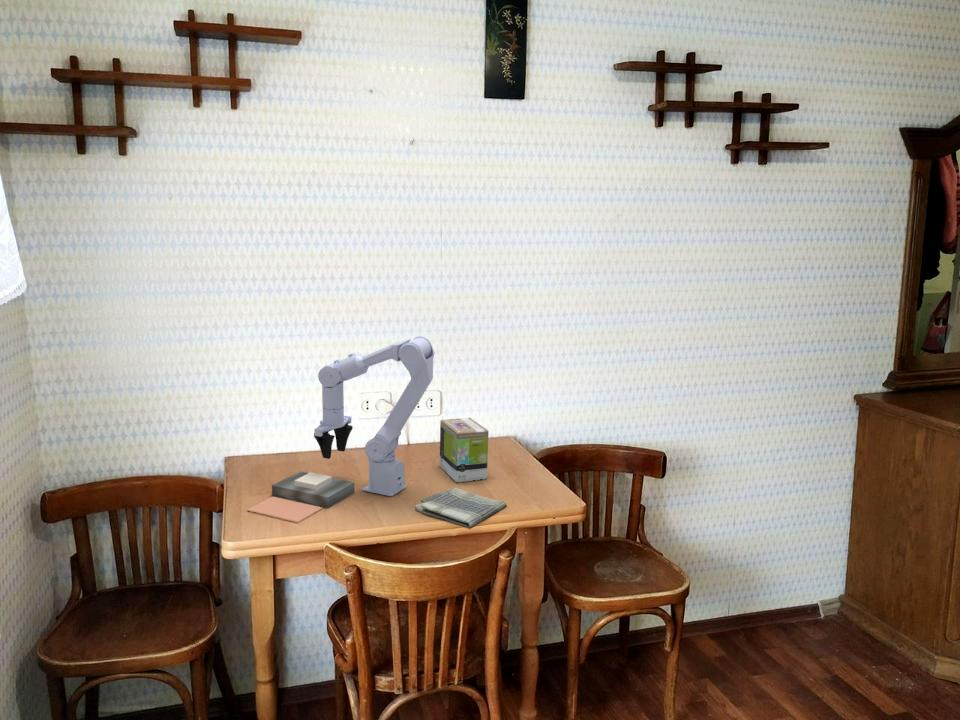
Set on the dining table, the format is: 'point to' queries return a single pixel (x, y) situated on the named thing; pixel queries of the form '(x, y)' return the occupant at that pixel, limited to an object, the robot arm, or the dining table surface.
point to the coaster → (313, 481)
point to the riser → (313, 491)
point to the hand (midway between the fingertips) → (333, 454)
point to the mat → (285, 509)
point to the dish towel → (460, 507)
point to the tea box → (463, 449)
